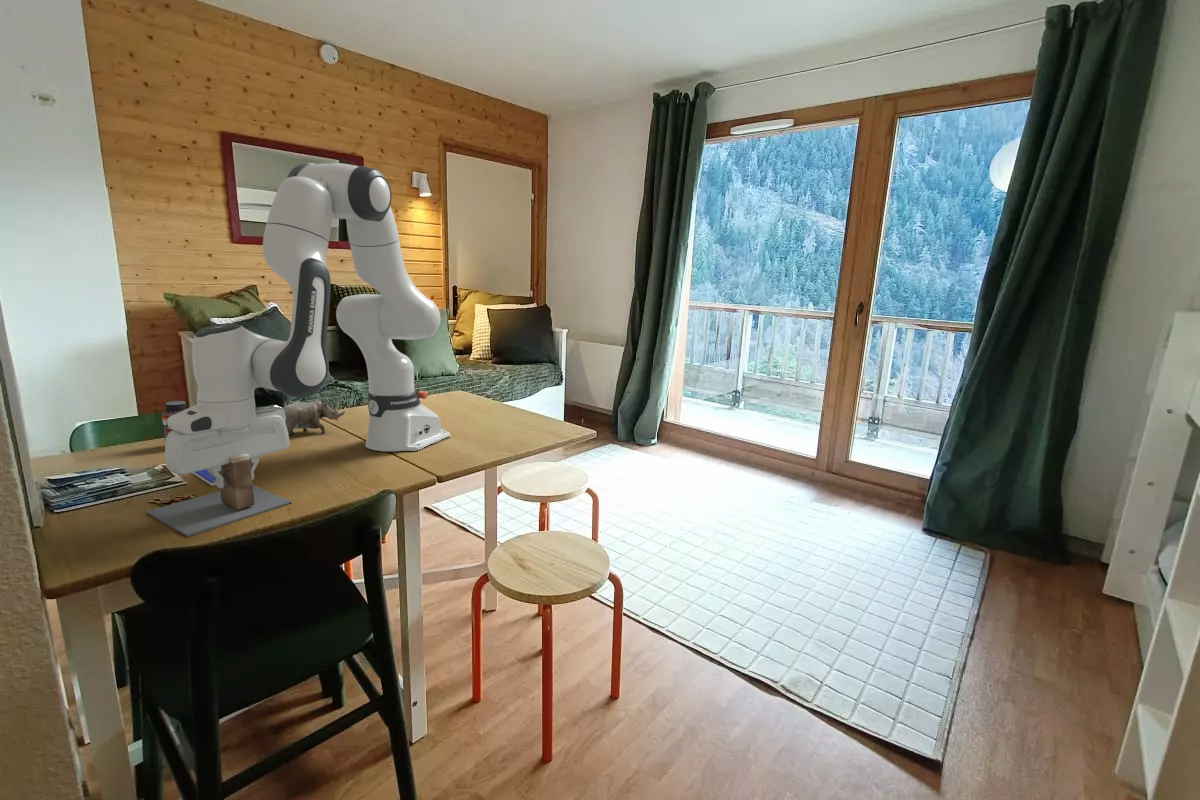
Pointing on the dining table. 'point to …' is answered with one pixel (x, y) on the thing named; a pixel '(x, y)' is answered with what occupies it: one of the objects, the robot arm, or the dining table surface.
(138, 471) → the dining table surface
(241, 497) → the block
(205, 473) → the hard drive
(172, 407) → the supplement bottle
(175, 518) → the mat
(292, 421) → the rhinoceros figurine
